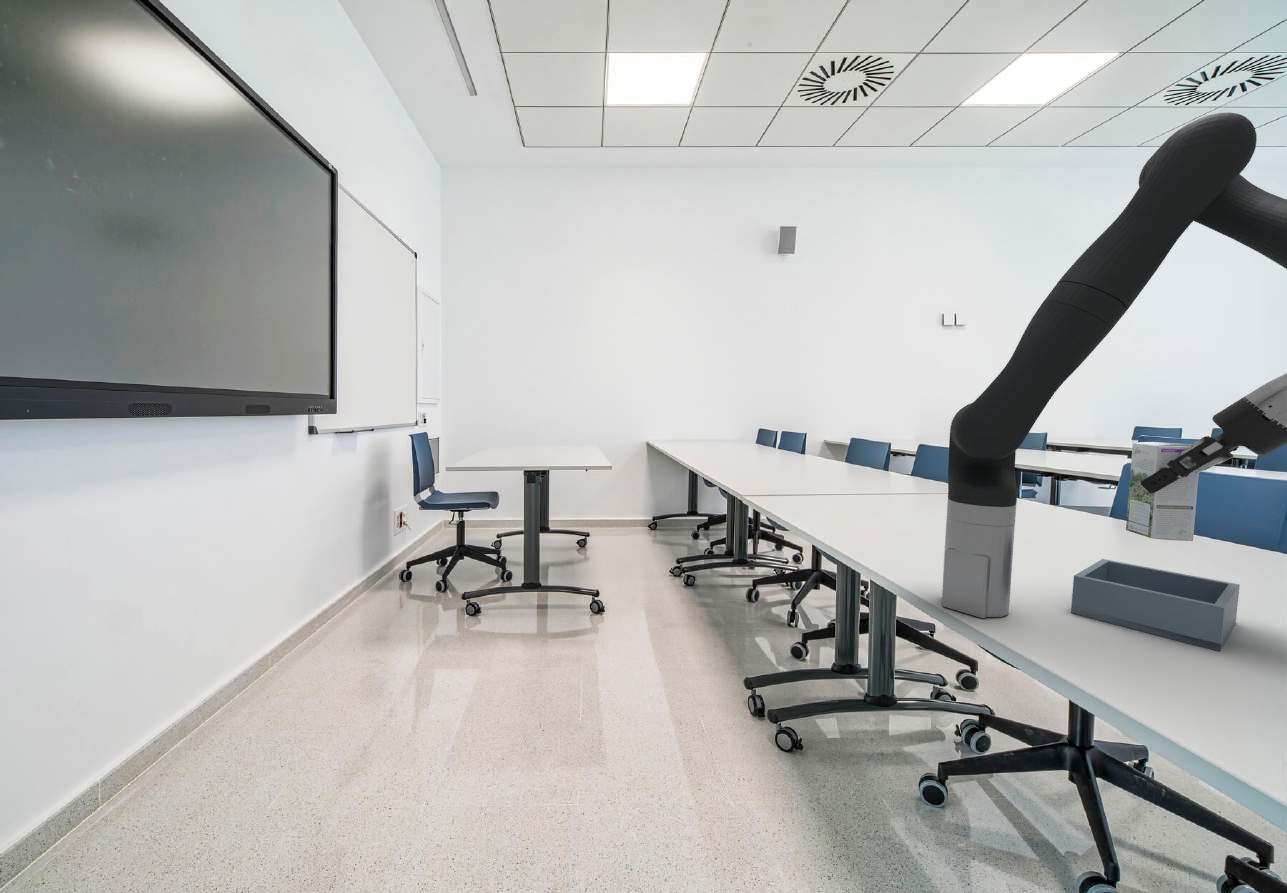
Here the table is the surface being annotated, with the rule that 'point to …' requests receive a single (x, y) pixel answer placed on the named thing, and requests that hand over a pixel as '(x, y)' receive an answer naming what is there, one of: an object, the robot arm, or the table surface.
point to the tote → (1157, 602)
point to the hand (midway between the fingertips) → (1151, 486)
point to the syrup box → (1161, 495)
